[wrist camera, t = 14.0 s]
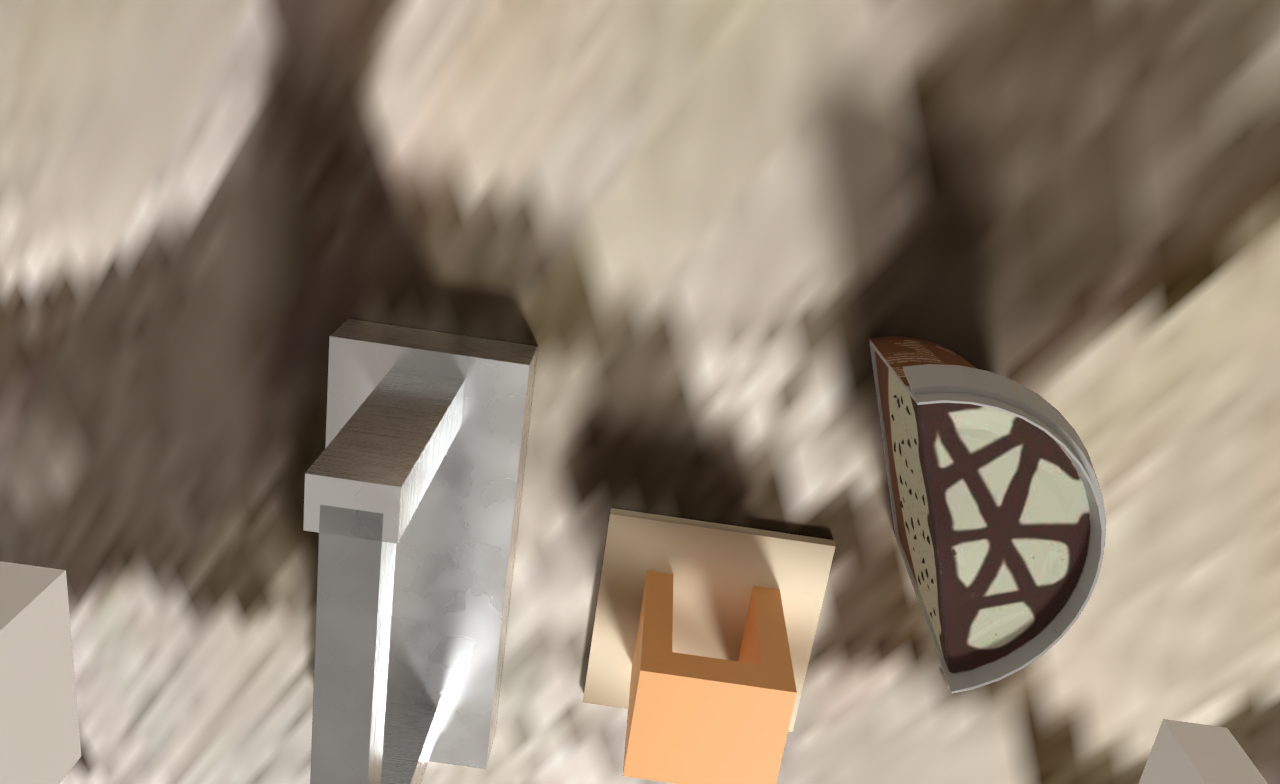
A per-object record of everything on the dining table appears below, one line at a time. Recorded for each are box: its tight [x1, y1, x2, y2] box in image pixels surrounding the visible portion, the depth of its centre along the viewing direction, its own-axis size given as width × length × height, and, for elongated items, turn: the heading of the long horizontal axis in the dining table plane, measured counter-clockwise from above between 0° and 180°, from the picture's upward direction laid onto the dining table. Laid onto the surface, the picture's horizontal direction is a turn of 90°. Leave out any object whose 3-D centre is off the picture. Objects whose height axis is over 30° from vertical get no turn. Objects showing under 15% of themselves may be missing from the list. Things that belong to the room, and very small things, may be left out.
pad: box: [583, 508, 835, 732], centre depth 48 cm, size 10×10×1 cm
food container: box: [869, 336, 1106, 693], centre depth 39 cm, size 12×6×10 cm, turn 11°
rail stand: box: [303, 319, 538, 784], centre depth 41 cm, size 20×8×12 cm, turn 172°
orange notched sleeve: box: [623, 570, 797, 784], centre depth 44 cm, size 5×6×8 cm
